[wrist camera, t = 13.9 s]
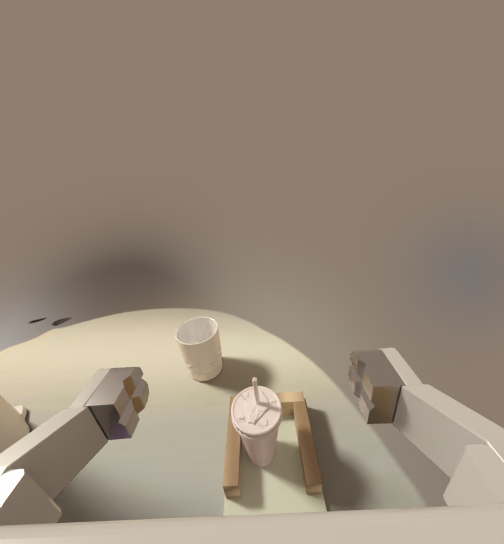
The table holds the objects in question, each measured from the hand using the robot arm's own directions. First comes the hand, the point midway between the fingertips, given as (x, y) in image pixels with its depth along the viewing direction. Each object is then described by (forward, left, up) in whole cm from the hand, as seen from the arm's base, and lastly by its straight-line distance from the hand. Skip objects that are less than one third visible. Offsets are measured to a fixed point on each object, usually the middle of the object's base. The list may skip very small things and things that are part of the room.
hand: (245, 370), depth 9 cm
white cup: (-12, +28, -31) cm, 43 cm away
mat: (0, +12, -30) cm, 33 cm away
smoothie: (-1, +12, -30) cm, 33 cm away
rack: (0, +12, -30) cm, 32 cm away
